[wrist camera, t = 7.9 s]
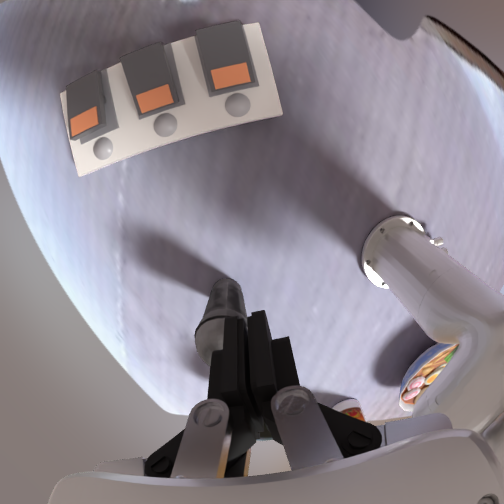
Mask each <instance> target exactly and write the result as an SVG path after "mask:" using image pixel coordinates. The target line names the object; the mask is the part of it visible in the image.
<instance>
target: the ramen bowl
mask: <svg viewBox="0 0 504 504" xmlns="http://www.w3.org/2000/svg"><path fill="white" fill-rule="evenodd" d="M458 347H459V344H443V343H438V344H436V345H434V346H432V347H430V348H429V349H427V350H426V351H425V352H424V353H422V354H421V355H420V356H419V357H418V358H417V359H416V360H415V361H414V362H413V364H412V365H411V366H410V367H409V369H408V371H407V372H406V374H405V376H404V378H403V381H402V384H401V389H400V396H399V406H400V407H401V408H402V409H403V410H404V411H411V412H413V408H414V406H415V404H416V402H417V400H418V399H419V398H420V396H421V395H422V394H423V393H424V391H425V390H426V389H427V388H428V387H429V385H430V384H431V383H432V382H433V381H434V379H435V378H436V377H437V376H438V375H439V373H440V372H441V371H442V370H443V369H444V367H445V366H446V365H447V364H448V362H449V361H450V360H451V358H452V356H453V355H454V353H455V352H456V351H457V349H458Z"/></svg>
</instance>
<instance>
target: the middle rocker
mask: <svg viewBox="0 0 504 504" xmlns="http://www.w3.org/2000/svg"><path fill="white" fill-rule="evenodd" d="M120 61H121V64H122V67H123V70H124V73H125V76H126V79H127V82H128V85H129V88H130V91H131V94H132V97H133V100H134V103H135V106H136V109H137V112H138V115H139V116H140V115H143V114H146V113H149V112H151V111H154V110H157V109H160V108H163V107H166V106H169V105H172V104H175V103H178V102H179V101H180V100H179V97H178V94H177V90H176V87H175V84H174V80H173V77H172V73H171V69H170V67H169V63H168V60H167V57H166V53H165V50H164V46H163V43H162V42H158V43H155V44H153V45H150V46H147V47H145V48H142V49H139V50H137V51H134V52H132V53H130V54H127V55H125V56H122V57H120Z"/></svg>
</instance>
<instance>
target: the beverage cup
mask: <svg viewBox="0 0 504 504" xmlns="http://www.w3.org/2000/svg"><path fill="white" fill-rule="evenodd" d="M237 315H238V316H239V319H240V318H244V320H245V323H246V326H247V330H248V325H247V314H246V309H245V304H244V298H243V293H242V291H241V287H240V285H239V284H238V283H237V282H236V281H234V280H232V279H222V280H219V281H218V282H216V283H215V285H214V287H213V289H212V291H211V294H210V297H209V300H208V303H207V306H206V310H205V313H204V316H203V319H202V320H201V322H200V323H199V325H198V327H197V328H196V331H195V343H196V349H197V352H198V354H199V356H200V357H201V359H202V360H203V361H204V362H205V363H206V364H207V365H209V366H211V356H212V352H213V351H216V350H222V349H223V336H224V320H225V318H227V317H232V316H237Z"/></svg>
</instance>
